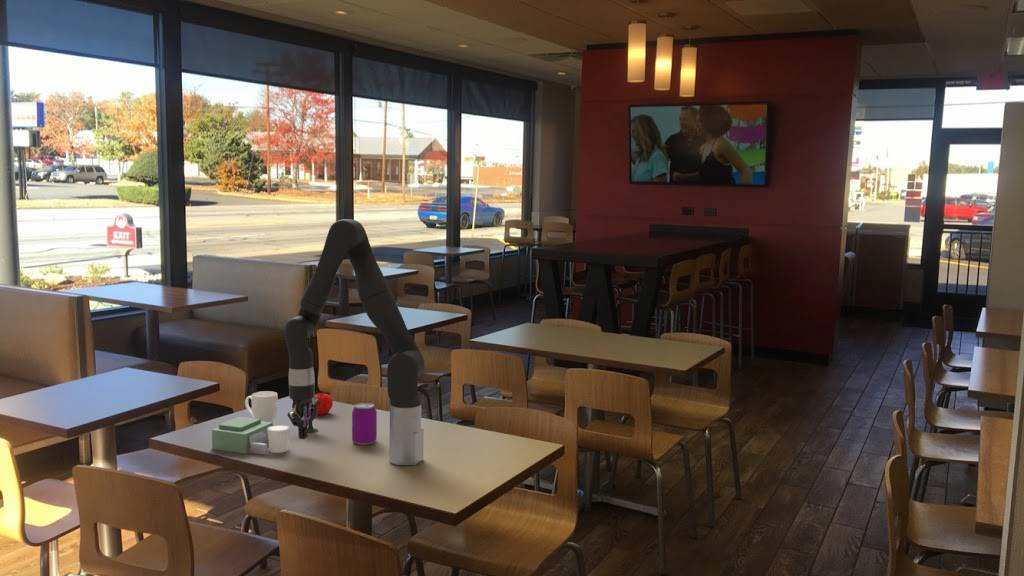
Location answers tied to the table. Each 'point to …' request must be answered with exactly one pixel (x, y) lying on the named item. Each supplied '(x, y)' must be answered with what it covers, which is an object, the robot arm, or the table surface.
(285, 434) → the white cup
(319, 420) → the table surface
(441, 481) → the table surface
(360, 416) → the beverage can
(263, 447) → the chute bracket
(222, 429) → the green drawer box
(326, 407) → the apple
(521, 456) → the table surface
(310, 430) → the sundae
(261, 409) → the mug
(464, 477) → the table surface
